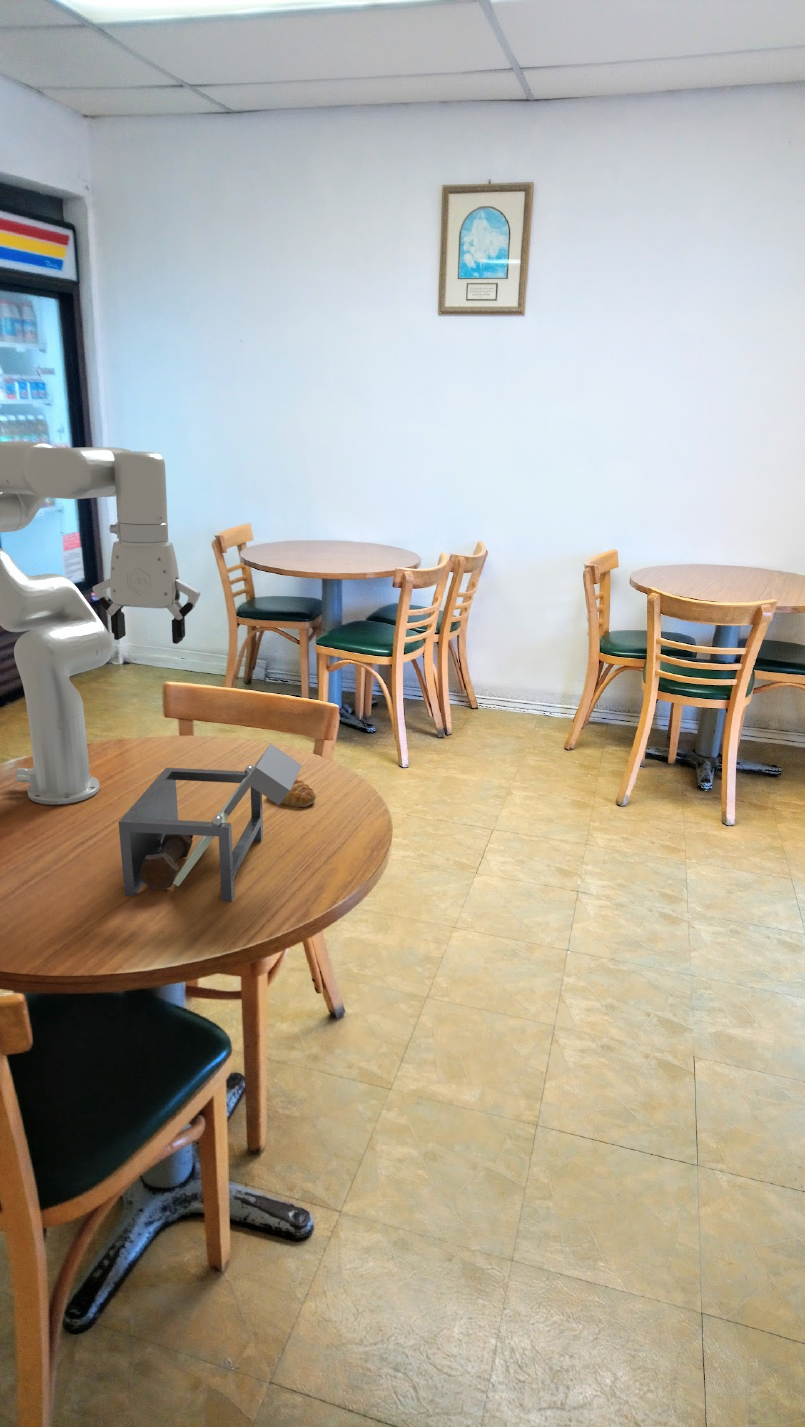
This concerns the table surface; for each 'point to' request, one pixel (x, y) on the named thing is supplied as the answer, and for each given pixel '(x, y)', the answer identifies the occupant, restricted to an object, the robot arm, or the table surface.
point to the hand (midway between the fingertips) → (148, 639)
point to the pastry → (299, 795)
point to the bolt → (165, 861)
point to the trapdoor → (267, 778)
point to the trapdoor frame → (183, 826)
